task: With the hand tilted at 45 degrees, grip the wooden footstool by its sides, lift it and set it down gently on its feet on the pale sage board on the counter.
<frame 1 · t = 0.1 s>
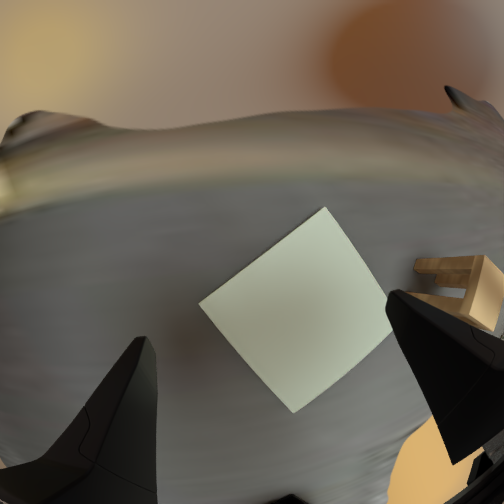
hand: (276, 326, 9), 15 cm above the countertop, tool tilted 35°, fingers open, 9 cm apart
board: (308, 315, 24), on the countertop
wooden footstool: (423, 289, 25), on the countertop
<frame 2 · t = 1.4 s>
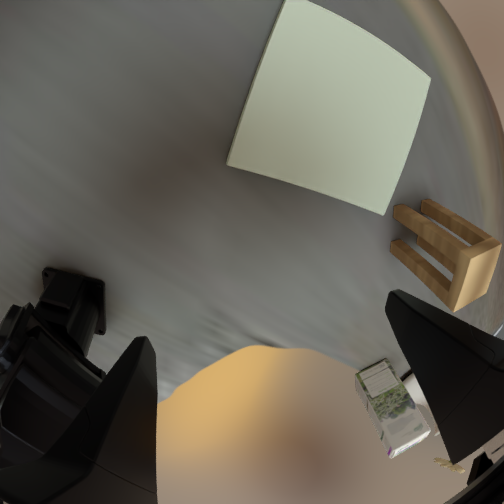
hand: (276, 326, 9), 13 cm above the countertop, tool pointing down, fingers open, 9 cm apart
board: (342, 106, 18), on the countertop
syrup box: (370, 372, 37), on the countertop
wooden footstool: (410, 225, 24), on the countertop
flower in vase: (412, 378, 43), on the countertop
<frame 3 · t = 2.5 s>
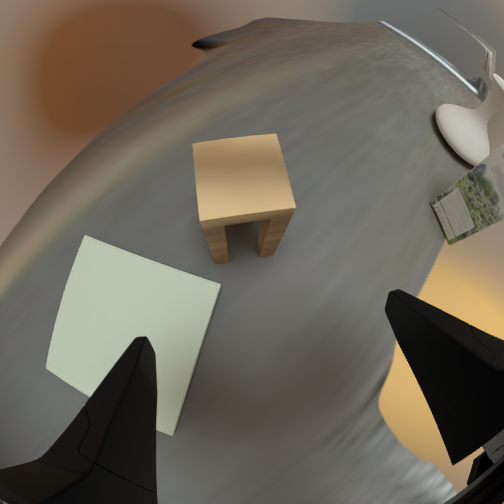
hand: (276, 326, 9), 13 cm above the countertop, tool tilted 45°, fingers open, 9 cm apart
board: (122, 333, 21), on the countertop
syrup box: (450, 218, 26), on the countertop
wooden footstool: (240, 232, 24), on the countertop
flower in vase: (459, 140, 30), on the countertop
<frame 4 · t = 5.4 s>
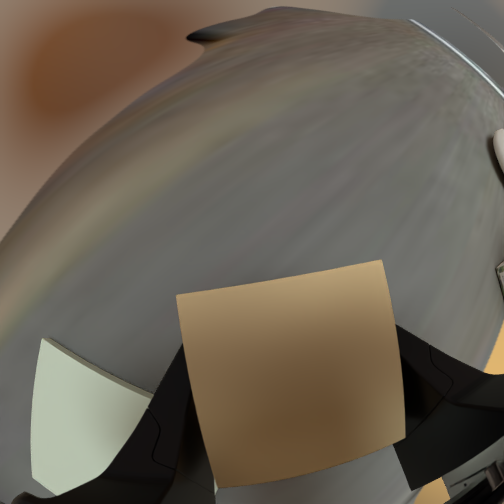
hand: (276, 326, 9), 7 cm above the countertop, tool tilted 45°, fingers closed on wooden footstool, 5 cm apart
board: (113, 464, 12), on the countertop
wooden footstool: (265, 348, 15), on the countertop, touching gripper
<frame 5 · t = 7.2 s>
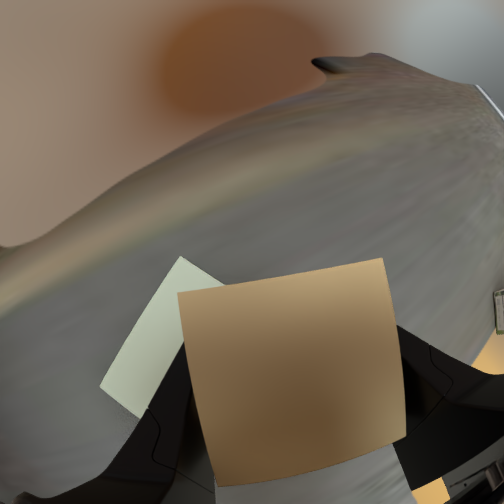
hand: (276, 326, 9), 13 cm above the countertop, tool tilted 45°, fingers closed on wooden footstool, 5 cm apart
board: (206, 372, 21), on the countertop
syrup box: (502, 309, 23), on the countertop
wooden footstool: (265, 347, 15), point 7 cm above the countertop, touching gripper
when the fingers open (8 cm above the countertop, at t = 9.2 s): wooden footstool stays where it is, resting on board.
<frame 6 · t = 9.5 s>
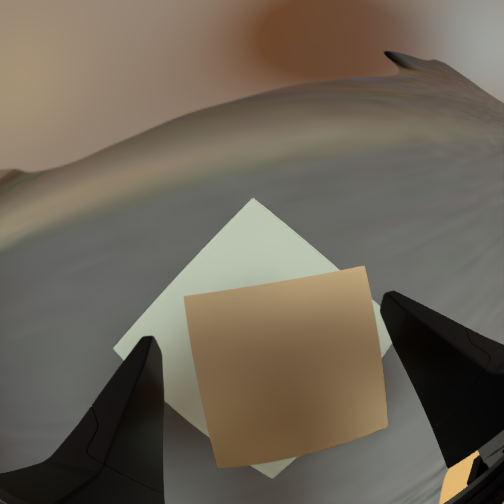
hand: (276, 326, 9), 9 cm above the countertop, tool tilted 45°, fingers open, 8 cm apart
board: (262, 346, 17), on the countertop
wooden footstool: (263, 346, 16), point 1 cm above the countertop, touching board
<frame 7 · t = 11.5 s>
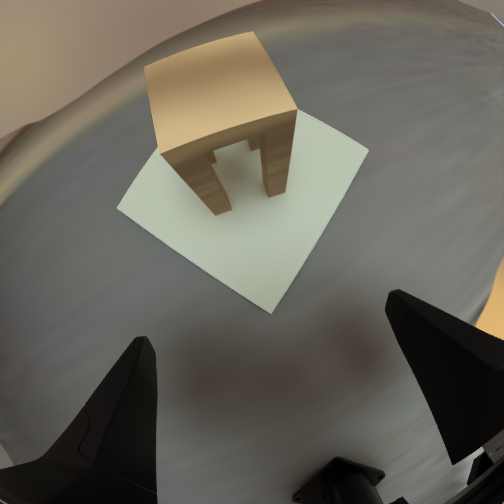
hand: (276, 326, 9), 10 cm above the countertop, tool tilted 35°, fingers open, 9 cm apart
board: (241, 177, 20), on the countertop
wooden footstool: (239, 172, 19), point 1 cm above the countertop, touching board
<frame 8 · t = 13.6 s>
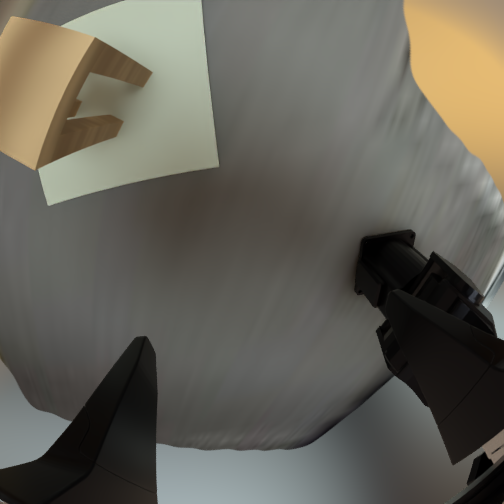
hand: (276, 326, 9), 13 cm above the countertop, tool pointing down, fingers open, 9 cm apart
board: (110, 91, 15), on the countertop
wooden footstool: (104, 90, 14), point 1 cm above the countertop, touching board
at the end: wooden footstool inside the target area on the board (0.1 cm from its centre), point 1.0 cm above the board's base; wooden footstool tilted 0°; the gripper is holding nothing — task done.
